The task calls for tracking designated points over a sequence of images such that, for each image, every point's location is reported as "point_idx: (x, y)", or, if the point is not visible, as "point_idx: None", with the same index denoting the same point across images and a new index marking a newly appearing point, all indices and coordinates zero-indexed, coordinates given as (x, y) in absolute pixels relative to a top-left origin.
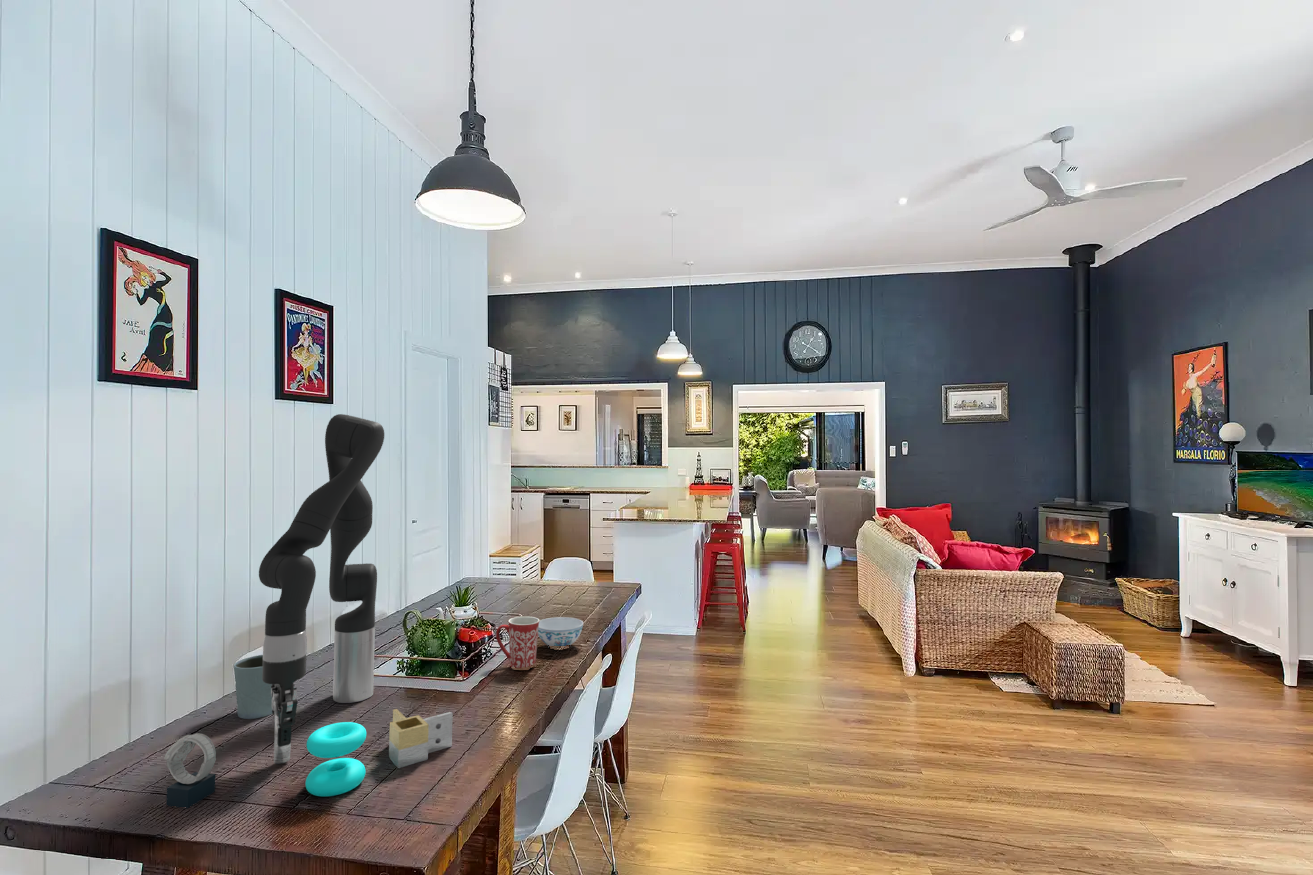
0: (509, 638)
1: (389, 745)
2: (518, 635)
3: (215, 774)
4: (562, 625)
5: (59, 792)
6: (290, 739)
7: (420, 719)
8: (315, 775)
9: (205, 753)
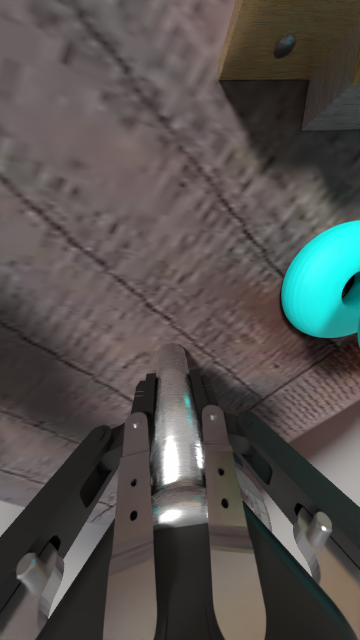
0: None
1: (336, 102)
2: None
3: None
4: None
5: (111, 520)
6: (199, 375)
7: None
8: (355, 330)
9: (270, 524)
